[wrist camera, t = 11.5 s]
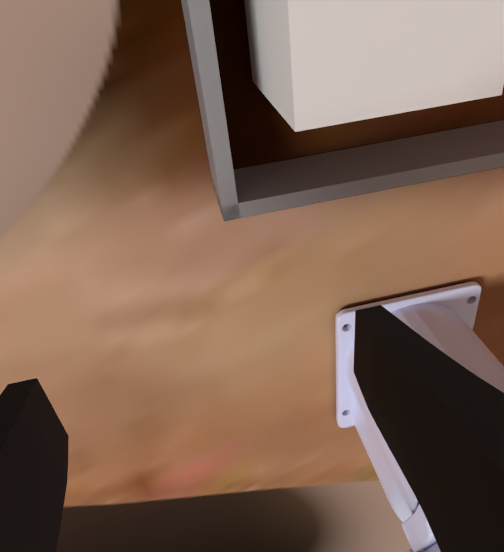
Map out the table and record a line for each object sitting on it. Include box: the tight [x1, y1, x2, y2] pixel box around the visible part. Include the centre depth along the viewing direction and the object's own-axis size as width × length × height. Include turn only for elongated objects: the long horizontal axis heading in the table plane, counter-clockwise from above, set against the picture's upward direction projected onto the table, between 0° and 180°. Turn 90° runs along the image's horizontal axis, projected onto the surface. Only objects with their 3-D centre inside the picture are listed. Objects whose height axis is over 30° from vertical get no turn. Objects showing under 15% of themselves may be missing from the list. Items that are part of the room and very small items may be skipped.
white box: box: [244, 0, 504, 132], centre depth 14 cm, size 4×6×6 cm
